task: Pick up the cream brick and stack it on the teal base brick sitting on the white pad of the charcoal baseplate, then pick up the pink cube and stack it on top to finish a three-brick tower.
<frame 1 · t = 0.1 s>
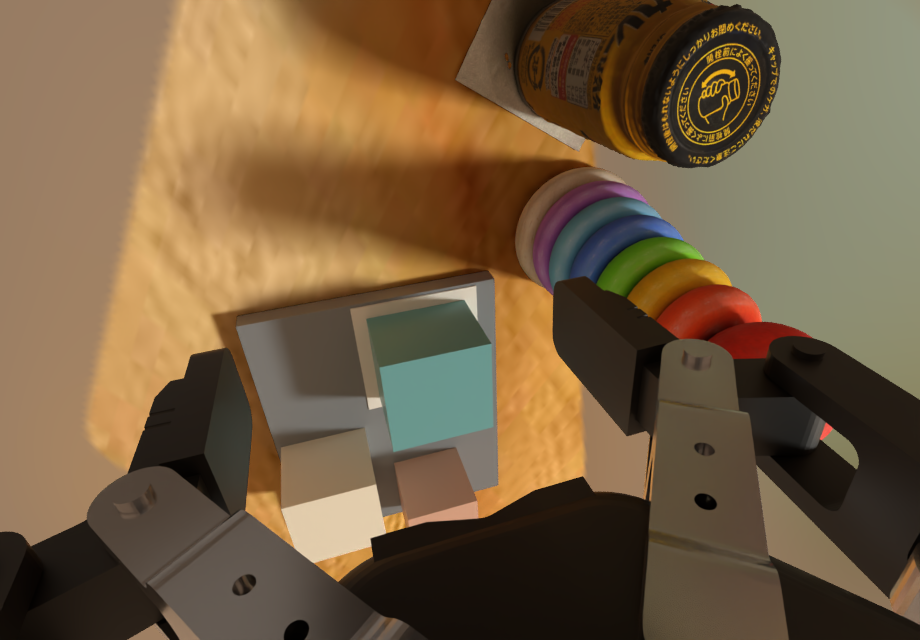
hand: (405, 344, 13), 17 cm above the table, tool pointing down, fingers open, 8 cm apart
condiment: (552, 50, 27), on the table
pink cube: (428, 476, 39), point 1 cm above the table, touching baseplate
teal base brick: (420, 350, 33), point 1 cm above the table, touching baseplate
cream brick: (331, 466, 35), point 1 cm above the table, touching baseplate
baseplate: (388, 409, 36), on the table
stacking toy: (568, 225, 33), on the table
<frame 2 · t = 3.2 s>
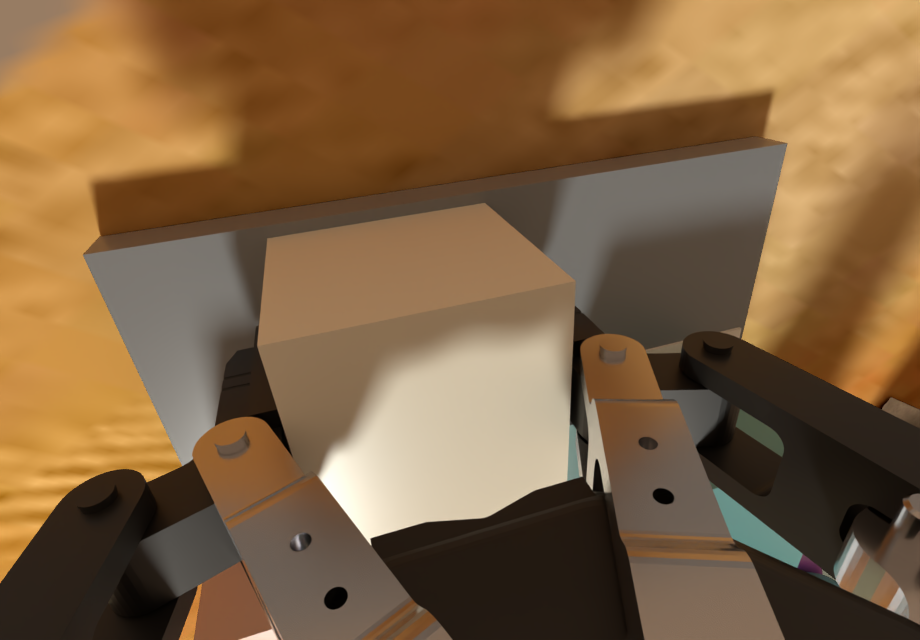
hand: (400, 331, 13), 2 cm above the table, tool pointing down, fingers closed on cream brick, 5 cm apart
condiment: (862, 469, 28), on the table
pink cube: (315, 512, 17), point 1 cm above the table, touching baseplate
teal base brick: (634, 437, 19), point 1 cm above the table, touching baseplate
cream brick: (395, 314, 14), point 1 cm above the table, touching baseplate, gripper
baseplate: (485, 396, 18), on the table
stacking toy: (701, 540, 27), on the table
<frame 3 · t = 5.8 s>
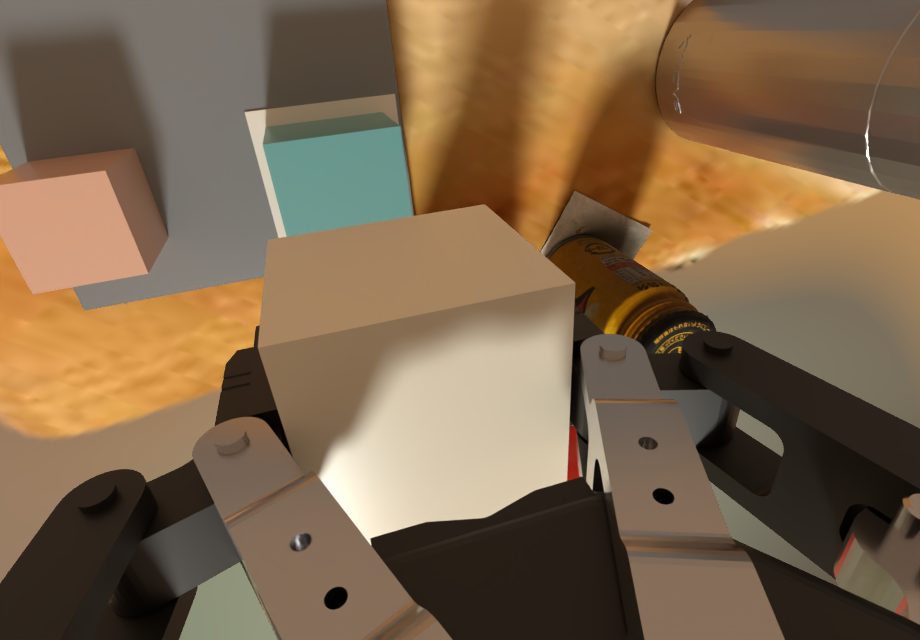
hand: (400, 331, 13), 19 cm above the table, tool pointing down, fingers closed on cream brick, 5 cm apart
condiment: (580, 262, 38), on the table
pink cube: (102, 201, 26), point 1 cm above the table, touching baseplate
teal base brick: (336, 177, 28), point 1 cm above the table, touching baseplate
cream brick: (395, 316, 14), point 18 cm above the table, touching gripper
baseplate: (224, 138, 27), on the table
stacking toy: (450, 309, 36), on the table
when the fingers open (9 cm above the table, at t = 8.3 s): cream brick drops 1 cm, resting on teal base brick.
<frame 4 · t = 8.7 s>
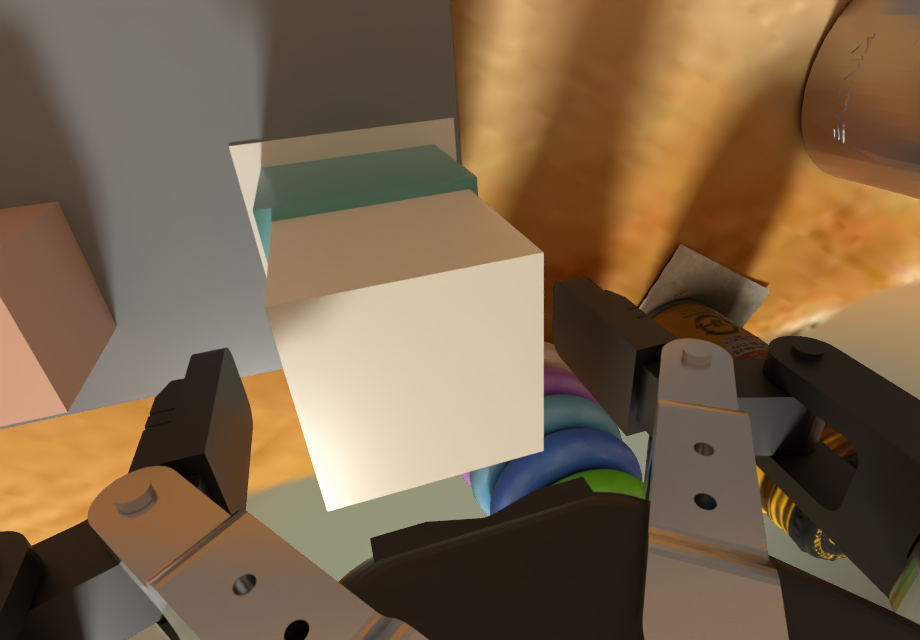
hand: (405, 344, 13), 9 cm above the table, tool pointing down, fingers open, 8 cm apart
condiment: (676, 332, 29), on the table
pink cube: (11, 280, 17), point 1 cm above the table, touching baseplate
teal base brick: (364, 237, 20), point 1 cm above the table, touching baseplate, cream brick
cream brick: (389, 293, 15), point 6 cm above the table, touching teal base brick
baseplate: (199, 183, 18), on the table
stacking toy: (507, 396, 27), on the table
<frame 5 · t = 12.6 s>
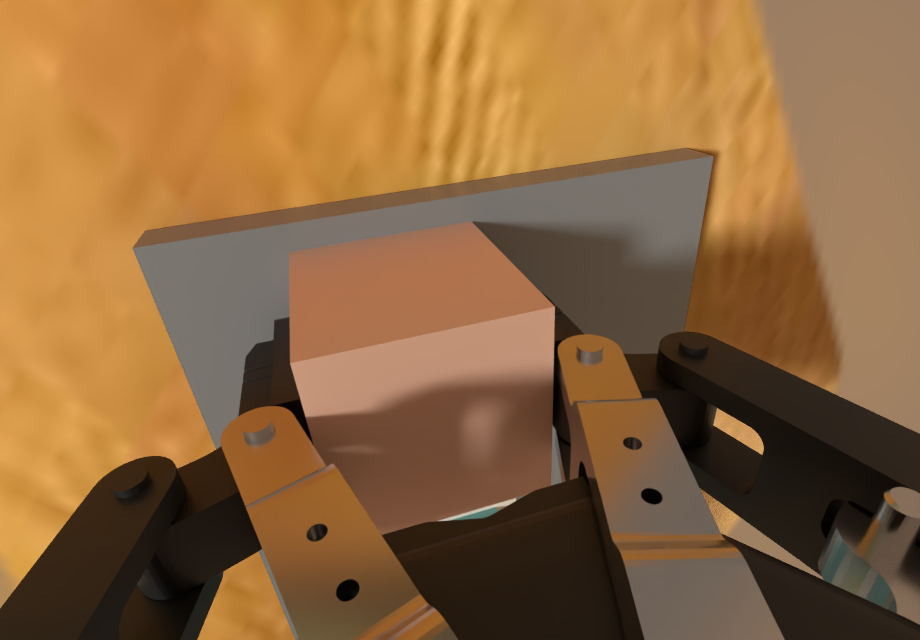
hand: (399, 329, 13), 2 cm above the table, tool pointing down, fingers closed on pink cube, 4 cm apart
pink cube: (395, 315, 14), point 1 cm above the table, touching baseplate, gripper
baseplate: (467, 440, 19), on the table
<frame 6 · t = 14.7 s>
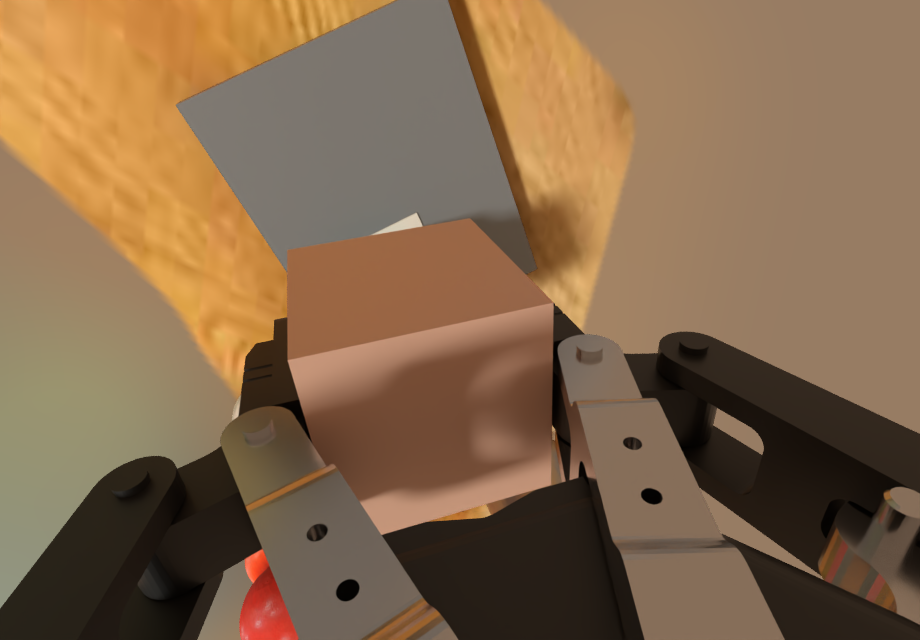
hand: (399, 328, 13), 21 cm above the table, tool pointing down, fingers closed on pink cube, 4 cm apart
pink cube: (394, 313, 14), point 20 cm above the table, touching gripper
baseplate: (384, 195, 33), on the table
stacking toy: (292, 406, 39), on the table
when the fingers open (14 cm above the table, at t = 17.1 s): pink cube drops 1 cm, resting on cream brick.
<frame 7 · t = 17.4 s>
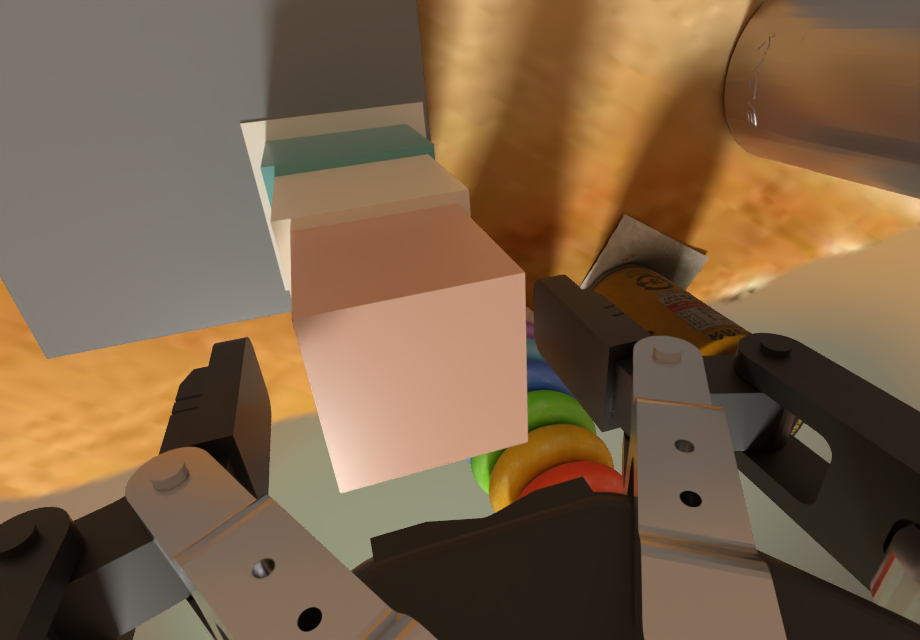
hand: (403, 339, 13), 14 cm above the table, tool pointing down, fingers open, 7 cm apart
condiment: (626, 293, 33), on the table
pink cube: (388, 292, 15), point 11 cm above the table, touching cream brick
teal base brick: (350, 200, 24), point 1 cm above the table, touching baseplate, cream brick
cream brick: (366, 237, 20), point 6 cm above the table, touching teal base brick, pink cube
baseplate: (216, 154, 23), on the table
stacking toy: (477, 347, 32), on the table
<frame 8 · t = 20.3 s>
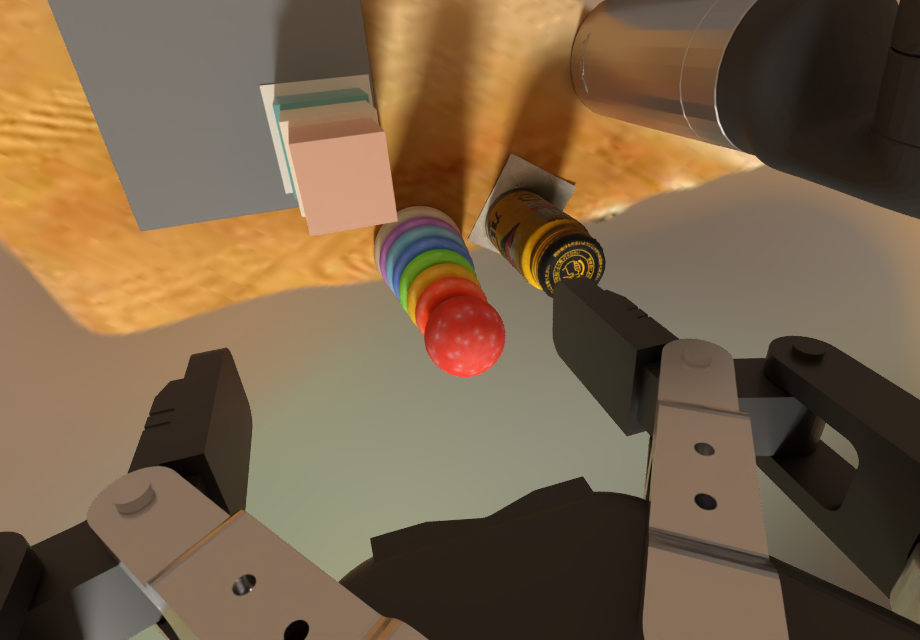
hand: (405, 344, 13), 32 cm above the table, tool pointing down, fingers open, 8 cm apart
condiment: (520, 212, 48), on the table
pink cube: (338, 164, 30), point 11 cm above the table, touching cream brick
teal base brick: (325, 135, 39), point 1 cm above the table, touching baseplate, cream brick
cream brick: (331, 148, 35), point 6 cm above the table, touching teal base brick, pink cube
baseplate: (244, 106, 37), on the table
stacking toy: (416, 246, 46), on the table
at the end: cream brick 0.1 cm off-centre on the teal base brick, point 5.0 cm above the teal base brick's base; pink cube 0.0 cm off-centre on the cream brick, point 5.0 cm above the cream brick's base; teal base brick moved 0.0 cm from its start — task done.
